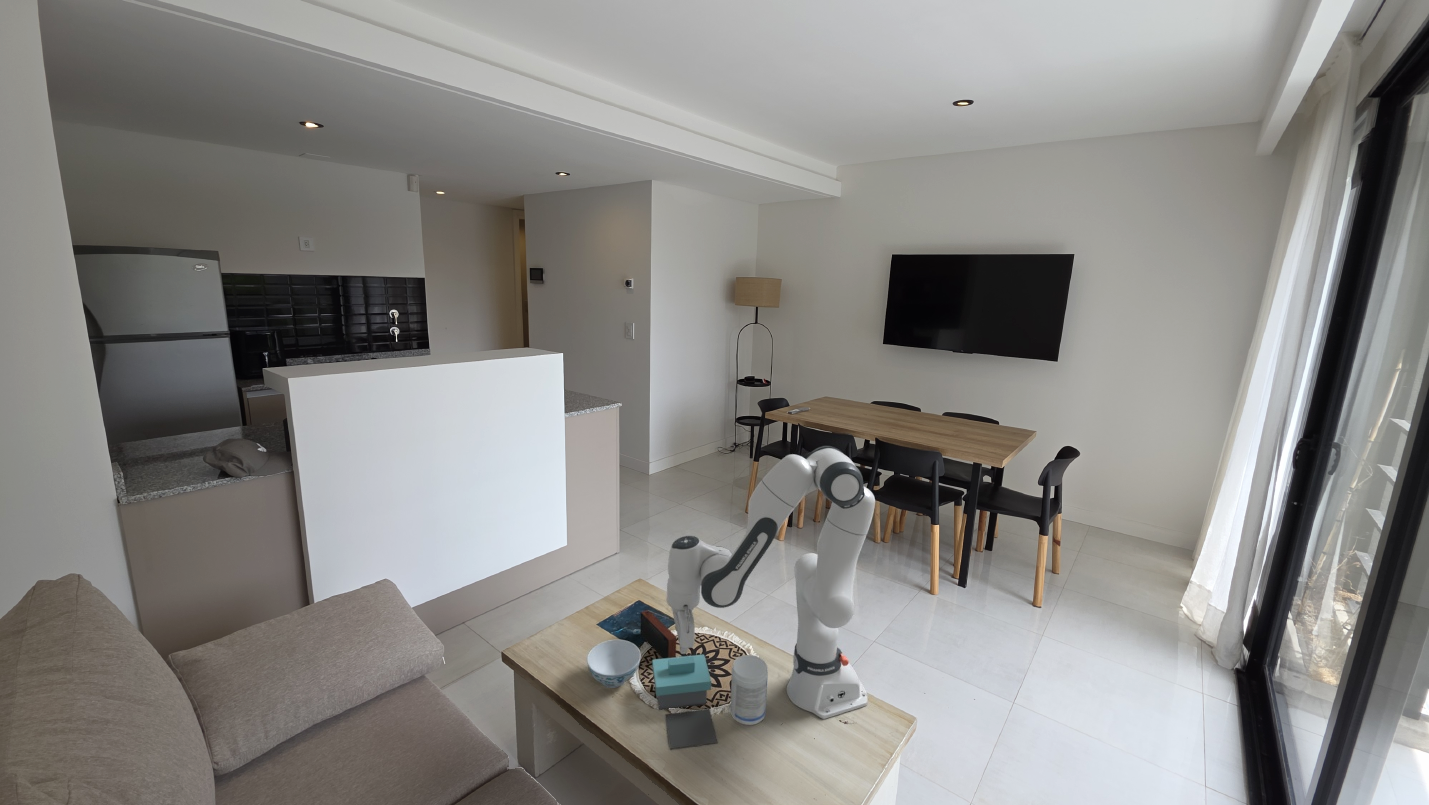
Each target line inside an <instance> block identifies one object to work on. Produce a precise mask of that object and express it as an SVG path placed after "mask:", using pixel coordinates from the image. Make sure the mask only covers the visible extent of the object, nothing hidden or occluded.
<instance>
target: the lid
mask: <svg viewBox="0 0 1429 805" xmlns="http://www.w3.org/2000/svg"><path fill="white" fill-rule="evenodd" d="M705 656H706V655H705V654H697V655H695V654H694V655H688V656H686V655H684V656H676V657H675V658H665V659H663V658H657V659H652V661H651V662H652V665H651V666H652V667H651V668H652V675H653V676H652V677H653V681H654V690H655V697H657V696H661V695H670V694H679V693H687V692H696V691H705V690H707V691H711V690H712V679H711V675H710V673H709V672H710V671H709V667H708V665H707V660H706V657H705Z"/></svg>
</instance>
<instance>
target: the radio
mask: <svg viewBox="0 0 1429 805" xmlns="http://www.w3.org/2000/svg"><path fill="white" fill-rule="evenodd" d="M655 615H656V616H655ZM657 616H660V617H662V618H665V619H666V620H669V621H672V622H675V621H674V619H672V618H671V619H670V617H669V618H668V617H667V616H663V615H661V614H658V613H656V612H653V611H651V610H649V609H646V610H643V611H641V612H640V636H641V637H642V638H643V640H645V641H646V642H647V644H649V646H650V647H651V648H652V649H653V650H654V651H655V652H656V653H657V654H658V655H659V656H660V657H661V659H665V658H675V657H677V655H676V654H677V636H676V635H675V634H674V633H673V632H672V631H671V630H670V629H669V628H668V627H667V626H666V625H665V624H664V623H663V622H662V621H661V620H660V619H659V618H658V617H657Z"/></svg>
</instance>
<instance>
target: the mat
mask: <svg viewBox="0 0 1429 805" xmlns="http://www.w3.org/2000/svg"><path fill="white" fill-rule="evenodd" d="M665 722H666V727H667V728H666V730H667V734H668V742H669V748H670V750H676V749H684V748H685V749H686V748H692V747H698V746H709V745H713V744H718V743H719V742H718V738H717V733H716V729H715V724H714V721H713V718H712V712H711V709H710V708H705V709H697V710H690V711H681V712H672V713H671V712H670V713H665Z"/></svg>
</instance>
